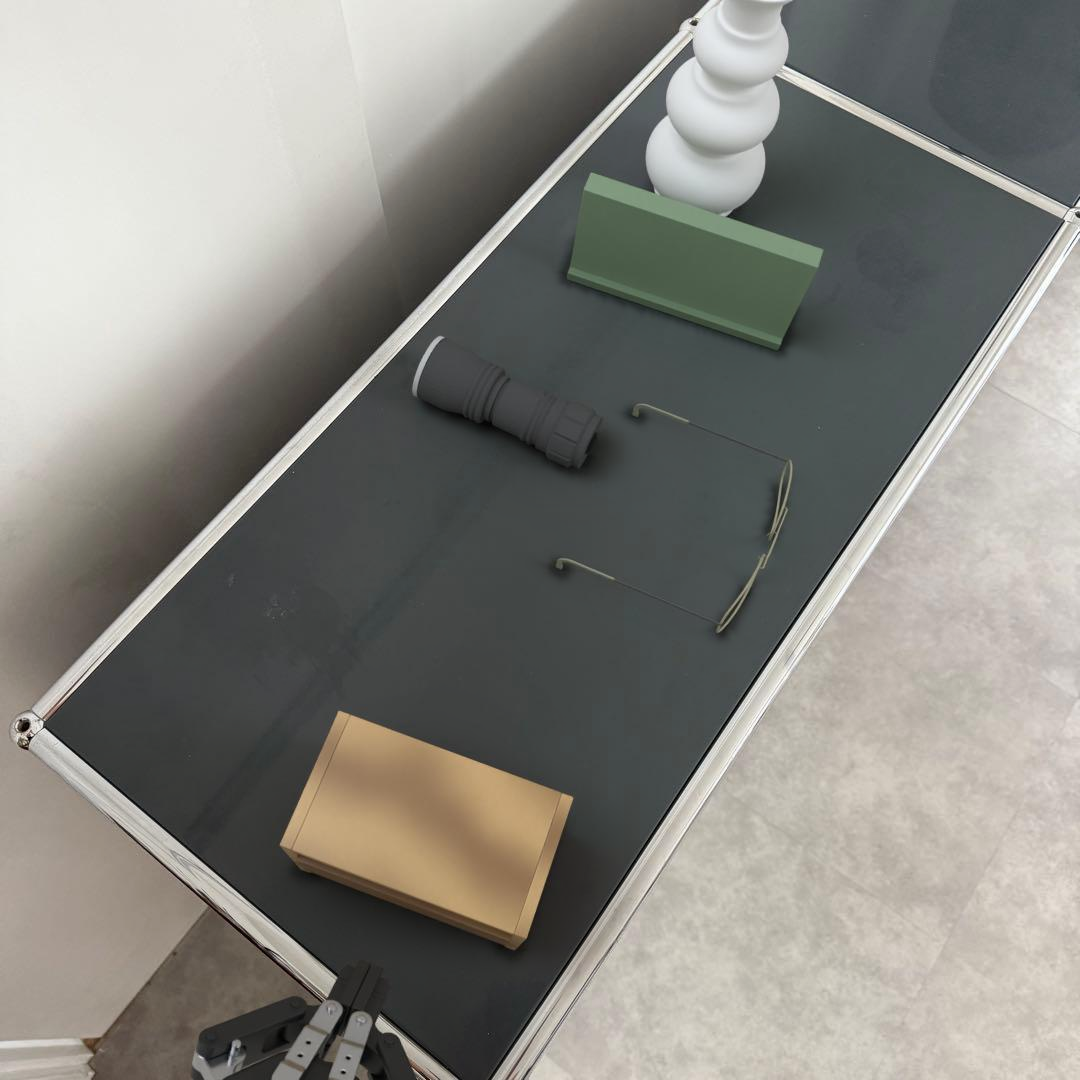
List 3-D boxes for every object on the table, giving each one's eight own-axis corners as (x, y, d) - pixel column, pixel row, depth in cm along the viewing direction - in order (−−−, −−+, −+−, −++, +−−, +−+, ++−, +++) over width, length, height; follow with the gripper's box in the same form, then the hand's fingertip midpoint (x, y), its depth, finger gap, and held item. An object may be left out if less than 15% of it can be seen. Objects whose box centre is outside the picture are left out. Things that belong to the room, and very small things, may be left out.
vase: (653, 246, 102) (715, 20, 79) (625, 155, 106) (676, -84, 83) (765, 233, 104) (857, 8, 81) (733, 144, 108) (812, -94, 85)
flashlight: (603, 434, 93) (613, 401, 88) (577, 485, 91) (585, 454, 86) (442, 359, 95) (443, 323, 90) (412, 407, 93) (411, 372, 88)
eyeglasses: (727, 646, 86) (743, 625, 82) (554, 568, 88) (561, 542, 83) (793, 484, 93) (811, 456, 88) (631, 413, 94) (641, 382, 90)
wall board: (777, 351, 98) (816, 274, 88) (566, 279, 99) (580, 195, 89) (790, 308, 100) (830, 228, 90) (583, 238, 101) (599, 152, 91)
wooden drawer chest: (513, 953, 76) (525, 942, 66) (298, 871, 77) (277, 848, 67) (556, 825, 80) (574, 796, 70) (351, 749, 81) (338, 709, 71)
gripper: (404, 1256, 44) (496, 966, 61) (104, 1136, 45) (273, 881, 61) (361, 1372, 47) (460, 1064, 63) (78, 1256, 48) (247, 982, 64)
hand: (367, 974), depth 62 cm, fingers closed
